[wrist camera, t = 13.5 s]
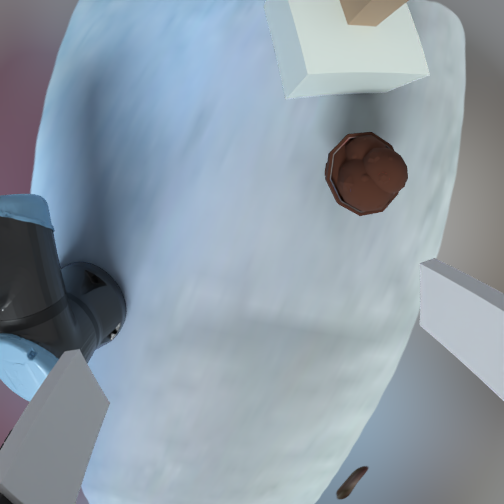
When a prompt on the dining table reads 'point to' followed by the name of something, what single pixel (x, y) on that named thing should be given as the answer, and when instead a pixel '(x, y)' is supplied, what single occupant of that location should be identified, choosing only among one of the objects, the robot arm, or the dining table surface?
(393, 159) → the ice cream bowl
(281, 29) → the white box with knob
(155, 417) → the dining table surface
